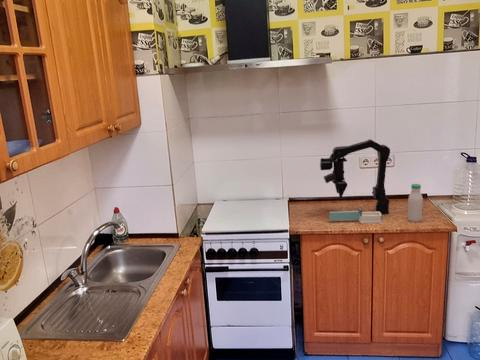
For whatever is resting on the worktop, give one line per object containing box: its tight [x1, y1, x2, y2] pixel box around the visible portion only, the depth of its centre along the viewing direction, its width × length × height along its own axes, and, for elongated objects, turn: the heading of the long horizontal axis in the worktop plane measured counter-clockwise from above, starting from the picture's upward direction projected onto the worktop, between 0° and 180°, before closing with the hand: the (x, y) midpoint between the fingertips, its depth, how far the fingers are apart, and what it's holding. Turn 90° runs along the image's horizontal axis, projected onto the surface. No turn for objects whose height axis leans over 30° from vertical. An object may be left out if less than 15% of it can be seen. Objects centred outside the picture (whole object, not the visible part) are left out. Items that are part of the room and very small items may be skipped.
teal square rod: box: [329, 210, 359, 221], centre depth 236 cm, size 16×2×4 cm, turn 85°
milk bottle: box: [407, 183, 424, 223], centre depth 230 cm, size 8×8×20 cm
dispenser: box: [357, 206, 384, 224], centre depth 235 cm, size 12×8×7 cm
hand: (339, 195), depth 246 cm, fingers open, 9 cm apart
